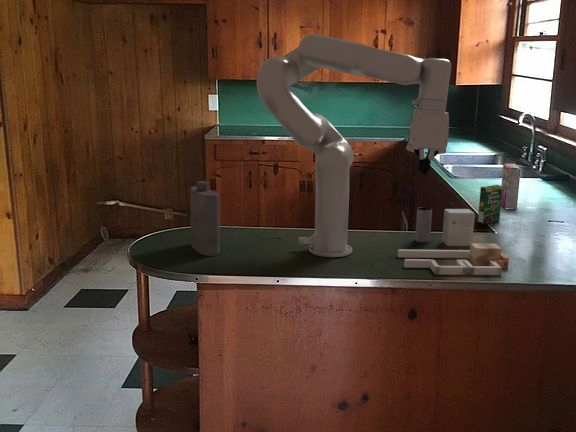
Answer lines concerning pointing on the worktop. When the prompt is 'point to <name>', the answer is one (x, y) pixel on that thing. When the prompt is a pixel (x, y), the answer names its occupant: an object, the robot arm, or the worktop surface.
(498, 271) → the channel
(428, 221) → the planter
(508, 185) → the candy bar box
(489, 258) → the beech block
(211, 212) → the flask
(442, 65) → the robot arm
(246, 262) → the worktop surface
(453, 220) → the small box
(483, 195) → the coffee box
